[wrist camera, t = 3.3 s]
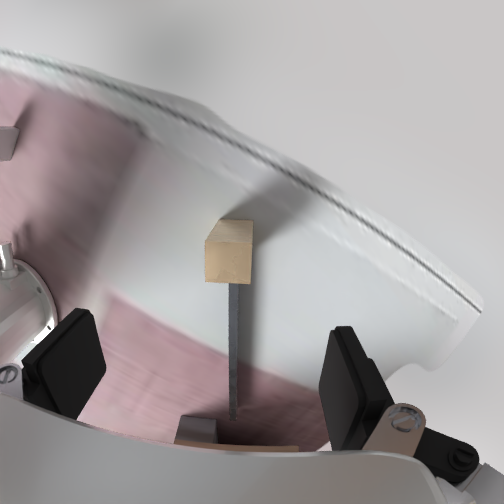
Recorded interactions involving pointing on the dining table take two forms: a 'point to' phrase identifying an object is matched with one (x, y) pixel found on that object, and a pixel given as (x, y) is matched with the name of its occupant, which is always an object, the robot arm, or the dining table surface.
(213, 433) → the cabinet
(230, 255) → the wood and grey bar
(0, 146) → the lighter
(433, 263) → the dining table surface
